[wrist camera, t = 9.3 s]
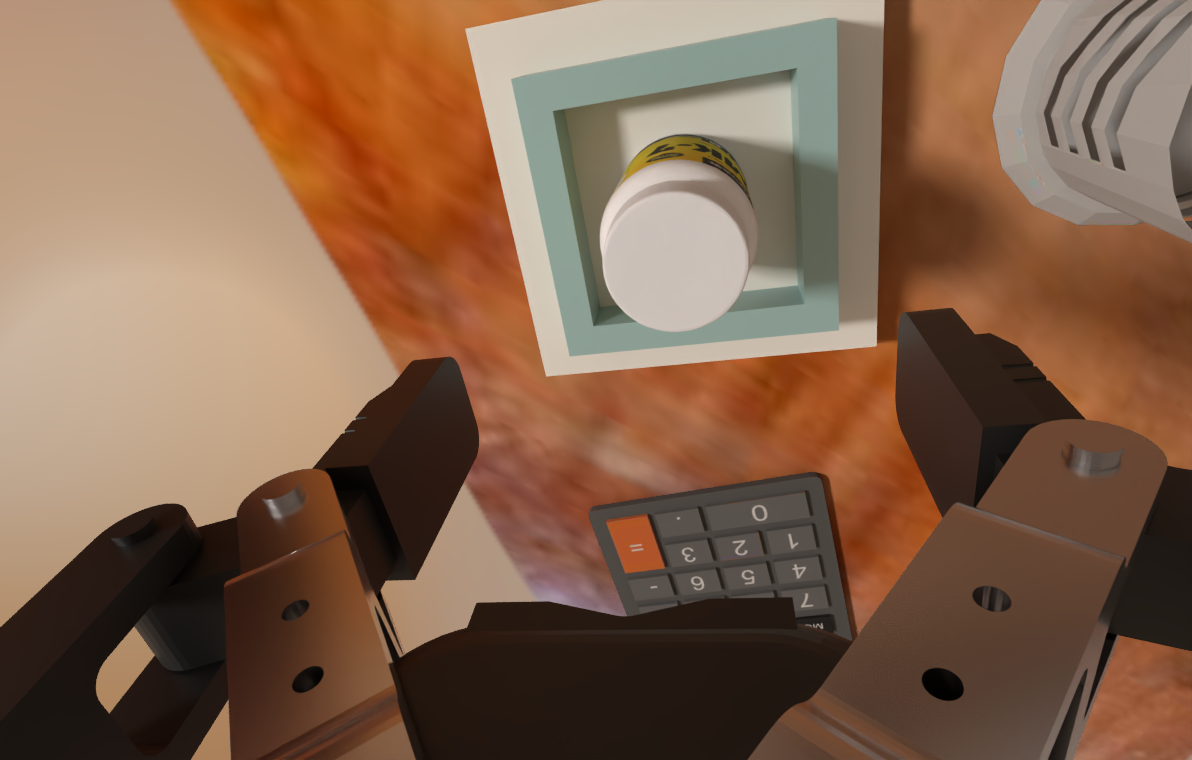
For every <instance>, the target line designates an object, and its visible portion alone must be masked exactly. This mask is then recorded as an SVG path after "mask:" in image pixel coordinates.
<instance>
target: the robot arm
mask: <svg viewBox="0 0 1192 760" xmlns="http://www.w3.org/2000/svg"><path fill="white" fill-rule="evenodd" d="M895 397H896V411H897V417H898V421H899V425H900V428H901V431H902V433H903V435H904V437H905V439H906V441H907V444H908V446H909V448H910V450H911V452H912V454H913V456H914V458H915V460H916V463H917V465H918V467H919V469H920V471H921V473H922V475H923V477H924V479H925V482H926V484H927V486H928V488H929V490H930V492H931V494H932V496H933V498H934V501H935V503H936V505H937V507H938V509H939V511H940V513H941V515H942V520H941V521H940V523H939V524H938V525H937V527H936V528H935V529H934V531H933V532H932V534H931V535H930V536H929V538H928V539H927V541H926V542H925V543H924V545H923V546H922V547H921V549H920V550H919V552H918V553H917V554H916V556H915V557H914V559H913V560H912V561H911V563H910V564H909V565H908V567H907V568H906V570H905V571H904V572H903V574H902V575H901V577H900V578H899V579H898V581H897V582H896V583H895V585H894V586H893V588H892V589H891V590H890V592H889V593H888V594H887V596H886V597H885V599H884V600H883V601H882V603H881V604H880V606H879V607H878V608H877V610H876V611H875V612H874V614H873V615H872V617H871V618H870V619H869V621H868V622H867V624H866V625H865V626H864V628H863V629H862V630H861V632H860V633H859V635H858V636H857V637H856V639H855V640H854V642H853V641H851V640H848V639H846V638H843V637H841V636H839V635H836V634H834V633H831V632H827V631H824V630H821V629H818V628H814V627H811V626H806V625H802V624H797V623H796V616H795V610H794V603H793V597H772V598H716V599H705V600H701V601H696V602H692V603H687V604H683V605H678V606H674V607H669V608H665V609H660V610H656V611H651V612H647V613H643V614H638V615H634V616H615V615H610V614H606V613H601V612H596V611H591V610H587V609H582V608H577V607H572V606H568V605H563V604H558V603H553V602H549V601H548V602H496V603H494V602H493V603H476V606H475V608H474V611H473V614H472V616H471V619H470V622H469V625H468V627H467V628H465V629H461V630H457V631H454V632H451V633H448V634H445V635H442V636H440V637H438V638H435V639H433V640H431V641H429V642H427V643H424V644H422V645H421V646H419V647H417V648H415V649H413V650H411V651H410V652H408V653H406V654H405V652H404V650H403V646H402V644H401V641H400V638H399V636H398V633H397V630H396V627H395V625H394V622H393V619H392V616H391V614H390V611H389V608H388V605H387V603H386V601H385V598H384V596H383V594H382V592H381V588H382V586H383V585H384V583H385V581H387V580H415V579H416V577H417V575H418V573H419V571H420V569H421V567H422V565H423V563H424V561H425V559H426V557H427V555H428V553H429V551H430V549H431V547H432V545H433V543H434V541H435V539H436V537H437V535H438V533H439V531H440V529H441V527H442V525H443V523H444V521H445V519H446V517H447V515H448V513H449V511H450V509H451V506H452V504H453V503H454V501H455V499H456V497H457V495H458V492H459V491H460V489H461V487H462V485H463V483H464V481H465V479H466V477H467V475H468V473H469V471H470V469H471V467H472V465H473V463H474V461H475V459H476V456H477V453H478V448H479V433H478V427H477V423H476V420H475V416H474V413H473V410H472V407H471V403H470V400H469V397H468V394H467V390H466V387H465V384H464V380H463V377H462V374H461V371H460V368H459V366H458V363H457V362H456V360H455V359H454V358H452V357H442V358H432V359H422V360H414V361H412V362H411V363H410V364H409V365H408V366H407V368H406V369H405V370H404V371H403V373H402V374H401V375H400V376H399V377H398V379H397V380H396V381H395V383H394V384H393V385H392V386H391V387H389V388H388V389H386V390H385V391H383V392H382V393H381V394H379V395H378V396H376V397H375V398H373V399H372V400H370V401H369V402H368V403H367V404H366V405H365V407H364V408H363V409H362V410H361V411H360V413H359V414H358V415H357V416H356V420H354V421H352V422H351V423H350V425H349V426H348V427H347V428H346V429H345V433H344V434H341V435H340V436H339V438H338V439H337V440H336V441H335V442H334V444H333V445H332V446H331V447H330V448H329V450H328V451H327V452H326V453H325V454H324V455H323V457H322V458H321V459H320V460H319V461H318V463H317V464H316V465H315V466H314V467H313V468H312V469H302V470H297V471H293V472H289V473H286V474H283V475H281V476H278V477H276V478H274V479H272V480H270V481H268V482H266V483H264V484H263V485H261V486H260V487H258V488H257V489H255V490H254V491H253V492H251V494H249V496H247V497H246V498H245V499H244V500H243V502H242V503H241V505H240V506H239V508H238V511H237V517H235V518H231V519H228V520H224V521H220V522H216V523H213V524H209V525H205V526H201V527H196V525H195V523H194V522H193V520H192V518H191V517H190V515H189V513H188V512H187V510H186V508H185V507H183V506H182V505H179V504H162V505H157V506H153V507H150V508H147V509H144V510H141V511H139V512H136V513H134V514H132V515H130V516H128V517H126V518H124V519H122V520H120V521H118V522H117V523H115V524H114V525H112V526H111V527H109V528H108V529H107V530H105V531H104V532H102V533H101V534H100V535H99V536H98V537H97V538H95V539H94V540H93V541H92V542H91V543H90V544H89V545H88V546H87V547H86V548H85V549H84V550H83V551H82V552H80V553H79V554H78V555H77V556H76V557H75V558H74V559H73V560H72V561H71V562H70V563H69V564H68V565H67V566H66V567H64V568H63V569H62V570H61V571H60V572H59V573H58V574H57V575H56V576H55V577H54V578H53V579H52V580H51V581H49V582H48V583H47V584H46V585H45V586H44V587H43V588H42V589H41V590H40V591H39V592H38V593H37V594H36V595H35V596H34V597H33V598H31V599H30V600H29V601H28V602H27V603H26V604H25V605H24V606H23V607H22V608H21V609H20V610H18V611H17V613H15V614H14V615H13V616H12V617H11V618H10V619H9V620H8V621H7V622H6V623H5V624H3V626H2V627H0V760H191V758H192V757H193V755H194V753H195V752H196V750H197V749H198V747H199V745H200V744H201V742H202V741H203V739H204V737H205V735H206V734H207V732H208V731H209V729H210V728H211V726H212V724H213V723H214V721H215V720H216V718H217V717H218V715H219V713H220V712H221V710H222V709H223V707H224V705H225V704H226V702H227V701H229V724H230V749H231V760H1073V758H1074V755H1075V753H1076V750H1077V747H1078V744H1079V741H1080V739H1081V736H1082V733H1083V731H1084V728H1085V726H1086V723H1087V720H1088V718H1089V715H1090V712H1091V710H1092V707H1093V705H1094V702H1095V699H1096V697H1097V694H1098V692H1099V689H1100V686H1101V684H1102V681H1103V678H1104V676H1105V673H1106V671H1107V668H1108V665H1109V663H1110V660H1111V658H1112V655H1113V652H1114V650H1115V647H1116V644H1117V642H1118V639H1119V636H1125V637H1129V638H1134V639H1139V640H1143V641H1148V642H1152V643H1157V644H1161V645H1166V646H1171V647H1175V648H1180V649H1184V650H1189V651H1192V470H1188V469H1181V468H1176V467H1171V466H1167V465H1168V462H1167V458H1166V456H1165V454H1164V453H1163V451H1162V450H1161V449H1160V448H1159V447H1158V446H1157V445H1156V444H1154V443H1153V442H1152V441H1150V440H1149V439H1147V438H1146V437H1144V436H1142V435H1140V434H1138V433H1136V432H1134V431H1131V430H1129V429H1126V428H1123V427H1120V426H1117V425H1113V424H1109V423H1104V422H1099V421H1092V420H1086V419H1085V418H1084V417H1083V416H1082V415H1081V414H1080V413H1079V412H1078V411H1077V409H1076V408H1075V407H1074V406H1073V405H1072V404H1071V403H1070V402H1069V401H1068V400H1067V399H1066V398H1065V397H1064V396H1063V394H1062V393H1061V392H1060V391H1059V390H1058V389H1057V388H1056V387H1055V386H1054V385H1053V384H1052V383H1051V382H1050V381H1047V380H1046V376H1045V375H1044V374H1043V373H1042V372H1041V371H1040V370H1039V369H1038V368H1037V367H1036V366H1035V367H1034V366H1033V362H1032V361H1031V360H1030V359H1029V358H1028V357H1027V356H1026V355H1025V354H1024V353H1023V352H1022V351H1021V349H1020V348H1019V347H1018V346H1016V345H1014V344H1012V343H1010V342H1007V341H1005V340H1003V339H1001V338H999V337H997V336H995V335H993V334H991V333H987V334H976V335H975V334H974V333H973V332H972V330H971V329H970V328H969V327H968V326H967V324H966V323H965V322H964V321H963V320H962V318H961V317H960V316H959V315H958V314H957V312H956V311H955V310H954V309H953V308H945V309H934V310H924V311H914V312H904V313H902V315H901V317H900V320H899V328H898V349H897V371H896V396H895ZM133 627H135V628H136V629H137V631H138V632H139V634H140V635H141V636H142V638H143V639H144V641H145V642H146V643H147V645H148V646H149V647H150V649H151V650H152V652H153V653H154V654H155V656H154V657H153V659H152V660H151V661H150V662H149V664H148V665H147V666H146V667H145V669H144V670H143V671H142V673H141V674H140V675H139V676H138V678H137V679H136V680H135V682H134V683H133V684H132V686H131V687H130V688H129V689H128V691H127V692H126V693H125V694H124V696H123V697H122V698H121V700H120V701H119V702H118V703H117V705H116V706H115V707H114V709H113V710H112V711H111V712H110V714H109V713H108V712H107V710H106V709H105V708H104V707H103V705H102V704H101V703H100V701H99V700H98V697H97V694H96V679H97V675H98V672H99V670H100V668H101V666H102V664H103V663H104V661H105V660H106V659H107V657H108V656H109V655H110V654H111V653H112V652H113V650H114V649H115V648H116V647H117V645H118V644H119V643H120V642H121V641H122V640H123V639H124V637H125V636H126V635H127V634H128V633H129V632H130V630H131V629H132V628H133Z"/></svg>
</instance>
